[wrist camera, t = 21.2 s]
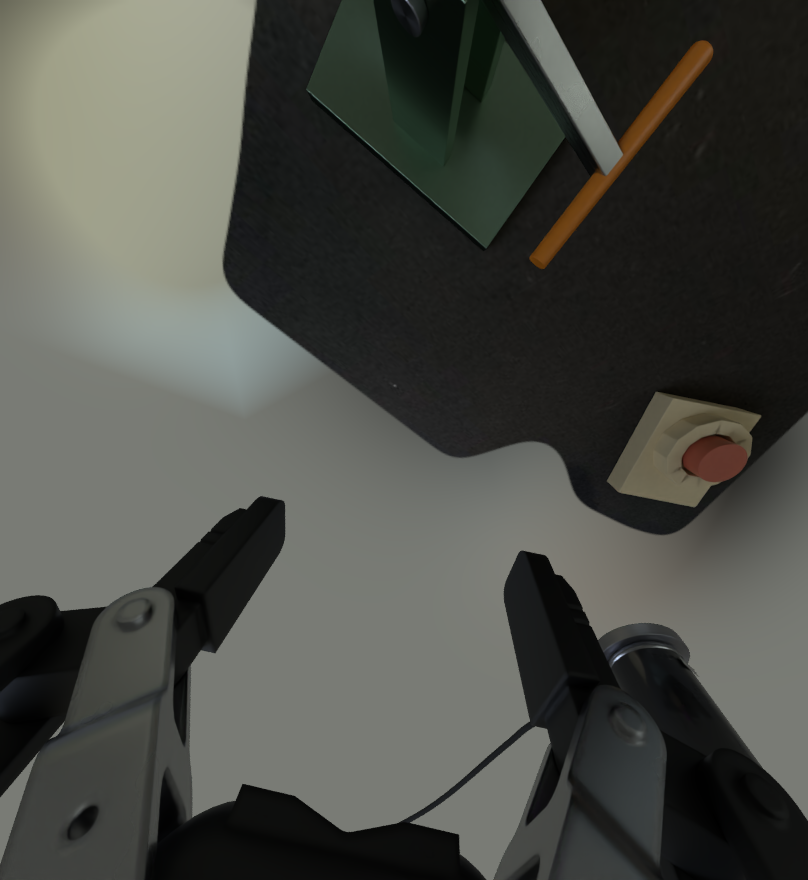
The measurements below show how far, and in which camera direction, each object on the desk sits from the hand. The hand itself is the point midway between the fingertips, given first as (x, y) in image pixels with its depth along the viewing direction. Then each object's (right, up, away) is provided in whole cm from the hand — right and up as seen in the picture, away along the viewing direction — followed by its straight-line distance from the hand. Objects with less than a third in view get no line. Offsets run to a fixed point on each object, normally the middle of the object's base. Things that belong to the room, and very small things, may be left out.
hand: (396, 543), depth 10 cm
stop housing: (+27, +3, +20) cm, 33 cm away
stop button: (+27, +2, +16) cm, 31 cm away
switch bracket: (+3, +27, +11) cm, 29 cm away
